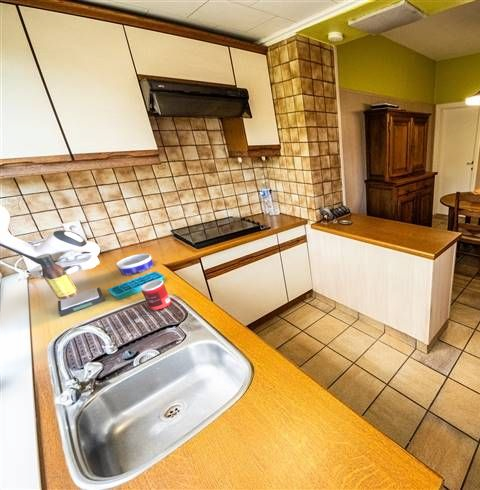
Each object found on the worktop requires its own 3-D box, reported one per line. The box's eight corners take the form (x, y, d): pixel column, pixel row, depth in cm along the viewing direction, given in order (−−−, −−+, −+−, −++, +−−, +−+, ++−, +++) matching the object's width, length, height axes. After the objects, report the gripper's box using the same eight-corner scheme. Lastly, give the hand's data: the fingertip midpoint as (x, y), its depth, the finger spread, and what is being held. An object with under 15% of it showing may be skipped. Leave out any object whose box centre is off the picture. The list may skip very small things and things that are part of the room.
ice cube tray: (109, 294, 127) (106, 289, 126) (157, 275, 142) (155, 270, 141) (118, 301, 121) (115, 296, 120) (167, 281, 136) (164, 276, 135)
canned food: (168, 298, 121) (159, 277, 117) (174, 304, 117) (165, 283, 112) (148, 306, 116) (138, 285, 112) (153, 313, 111) (143, 291, 107)
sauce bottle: (63, 294, 116) (37, 253, 107) (81, 290, 118) (58, 250, 110) (54, 302, 110) (27, 260, 102) (74, 298, 112) (49, 256, 104)
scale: (61, 316, 112) (57, 311, 111) (60, 305, 121) (57, 299, 119) (105, 301, 122) (102, 295, 121) (101, 291, 130) (98, 286, 129)
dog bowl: (159, 266, 153) (155, 256, 151) (126, 278, 141) (121, 268, 139) (147, 260, 161) (143, 251, 158) (116, 271, 149) (111, 262, 147)
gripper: (39, 259, 116) (15, 274, 104) (98, 250, 123) (81, 263, 111) (47, 272, 119) (24, 287, 107) (104, 262, 125) (88, 276, 113)
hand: (54, 275), depth 109 cm, fingers closed on sauce bottle, 6 cm apart
